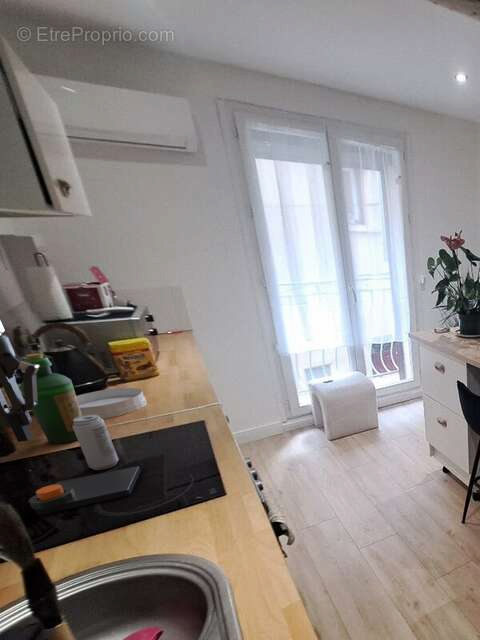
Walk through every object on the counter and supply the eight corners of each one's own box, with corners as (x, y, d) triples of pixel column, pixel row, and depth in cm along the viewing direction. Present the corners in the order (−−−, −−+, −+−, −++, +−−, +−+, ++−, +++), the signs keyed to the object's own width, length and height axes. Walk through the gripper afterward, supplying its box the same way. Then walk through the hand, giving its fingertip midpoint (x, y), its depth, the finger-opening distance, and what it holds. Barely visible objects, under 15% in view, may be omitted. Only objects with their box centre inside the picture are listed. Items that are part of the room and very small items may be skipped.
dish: (137, 414, 151) (133, 402, 150) (53, 425, 141) (47, 412, 139) (153, 396, 169) (149, 384, 168) (79, 404, 159) (74, 392, 157)
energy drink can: (101, 461, 119) (82, 414, 114) (125, 460, 120) (107, 413, 115) (84, 471, 114) (63, 422, 108) (109, 470, 115) (90, 421, 109)
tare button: (36, 502, 95) (32, 495, 94) (43, 494, 98) (39, 487, 97) (61, 497, 97) (57, 490, 96) (66, 489, 100) (63, 482, 99)
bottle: (96, 437, 133) (63, 354, 124) (48, 449, 125) (8, 361, 115) (88, 429, 139) (56, 348, 129) (41, 440, 131) (3, 355, 121)
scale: (30, 519, 94) (23, 506, 93) (53, 488, 106) (48, 477, 105) (129, 497, 103) (124, 485, 102) (140, 471, 115) (136, 460, 113)
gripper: (31, 330, 90) (72, 427, 99) (-63, 335, 83) (-11, 439, 92) (17, 336, 84) (61, 438, 93) (-86, 342, 78) (-28, 452, 86)
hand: (25, 439), depth 92 cm, fingers closed
